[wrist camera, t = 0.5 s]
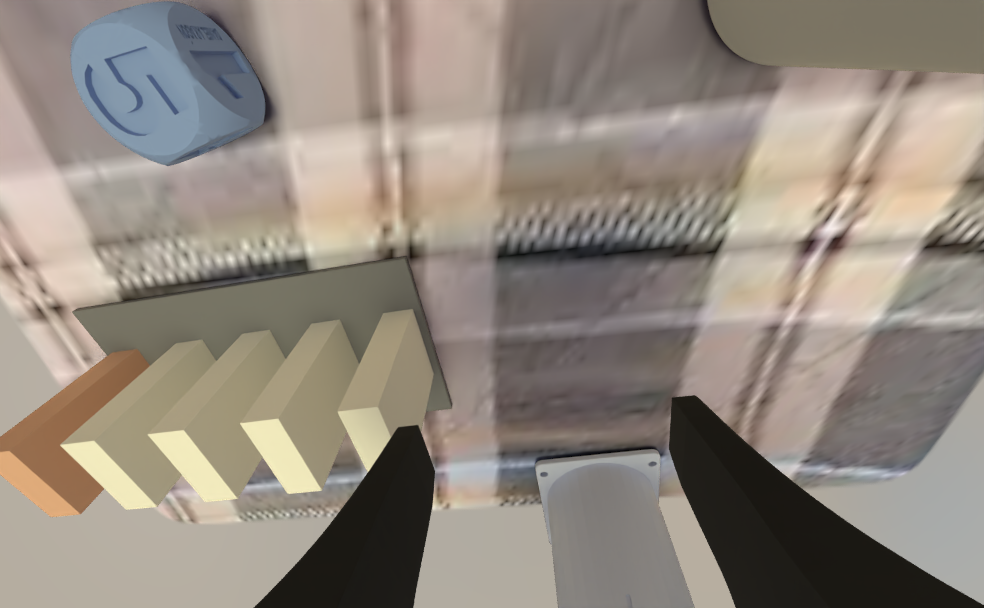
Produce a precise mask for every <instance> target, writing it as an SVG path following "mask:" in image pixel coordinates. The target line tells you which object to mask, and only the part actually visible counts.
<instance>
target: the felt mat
mask: <svg viewBox="0 0 984 608" xmlns="http://www.w3.org/2000/svg"><path fill="white" fill-rule="evenodd" d="M409 309H413V311H414V314H415V317H416V320H417V323H418V326H419V330H420V333H421V336H422V339H423V342H424V345H425V348H426V351H427V354H428V357H429V361H430V364H431V367H432V370H433V373H434V375H433V380H432V385H431V389H430V394H429V398H428V403H427V408H426V412H427V411H436V410H444V409H452V403H451V399H450V396H449V393H448V390H447V386H446V383H445V380H444V377H443V373H442V370H441V367H440V364H439V361H438V357H437V354H436V351H435V348H434V344H433V341H432V338H431V335H430V331H429V328H428V325H427V322H426V319H425V315H424V312H423V309H422V306H421V302H420V299H419V296H418V293H417V289H416V286H415V283H414V280H413V277H412V273H411V270H410V267H409V264H408V260H407V257H406V256H405V257H399V258H392V259H386V260H380V261H374V262H367V263H361V264H355V265H349V266H342V267H336V268H330V269H324V270H317V271H311V272H305V273H299V274H292V275H286V276H280V277H274V278H267V279H261V280H255V281H249V282H242V283H236V284H230V285H224V286H217V287H211V288H205V289H199V290H192V291H186V292H180V293H174V294H167V295H161V296H155V297H149V298H142V299H136V300H130V301H124V302H117V303H111V304H105V305H99V306H92V307H86V308H80V309H76V310H74V311H73V312H72V313H73V314H74V315H75V316H76V318H77V319H78V320H79V321H80V323H81V324H82V325H83V326H84V328H85V329H86V330H87V331H88V332H89V334H90V335H91V336H92V337H93V339H94V340H95V341H96V342H97V343H98V345H99V346H100V347H101V348H102V350H103V351H104V352H105V353H106V355H107V356H108V355H109V354H111V353H113V352H120V351H127V350H134V349H138V351H139V352H140V353H141V355H142V356H143V357H144V359H145V360H146V361H147V362H148V364H149V365H150V366H151V365H152V364H153V363H154V362H155V361H156V360H157V359H159V358H160V357H161V356H162V355H163V354H164V353H165V352H167V351H168V350H169V349H170V348H171V347H172V346H173V345H175V344H176V343H182V342H189V341H195V340H203V342H204V343H205V345H206V346H207V348H208V349H209V351H210V352H211V354H212V355H213V357H214V358H215V360H216V361H217V360H218V359H219V358H220V357H221V356H222V355H223V354H224V353H225V352H226V350H227V349H228V348H229V347H230V346H231V345H232V344H233V343H234V342H235V341H236V340H237V339H238V338H239V337H240V336H241V335H242V334H244V333H250V332H257V331H264V330H270V331H271V333H272V335H273V337H274V339H275V340H276V342H277V344H278V346H279V348H280V350H281V352H282V353H283V355H284V357H285V359H286V358H287V357H288V355H289V354H290V353H291V351H292V350H293V349H294V347H295V346H296V344H297V343H298V342H299V340H300V339H301V337H302V336H303V335H304V333H305V332H306V330H307V329H308V328H309V326H310V325H311V324H312V323H319V322H326V321H333V320H340V321H341V323H342V326H343V328H344V330H345V333H346V335H347V337H348V340H349V342H350V344H351V346H352V349H353V351H354V353H355V356H356V358H357V360H358V363H359V364H360V362H361V360H362V358H363V355H364V353H365V351H366V349H367V347H368V345H369V343H370V340H371V338H372V336H373V334H374V332H375V330H376V328H377V326H378V323H379V321H380V319H381V317H382V315H383V313H388V312H395V311H402V310H409Z"/></svg>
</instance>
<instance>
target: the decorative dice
mask: <svg viewBox="0 0 984 608" xmlns="http://www.w3.org/2000/svg"><path fill="white" fill-rule="evenodd" d="M70 56H71V70H72V75H73V79H74V82H75V85H76V87H77V90H78V92H79V94H80V97H81V99H82V101H83V103H84V104H85V106H86V108H87V109H88V111H89V112H90V113H91V115H92V116H93V117H94V119H95V120H96V121H97V122H98V123H99V124H100V126H101V127H102V128H103V129H104V130H105V131H106V132H107V133H109V134H110V135H111V136H112V137H113V138H114V139H115V140H117V141H118V142H119V143H121V144H122V145H124V146H125V147H126V148H128V149H130V150H131V151H133V152H135V153H137V154H138V155H140V156H142V157H144V158H147V159H149V160H151V161H154V162H157V163H160V164H163V165H166V166H170V165H174V164H178V163H181V162H183V161H186V160H189V159H192V158H194V157H197V156H199V155H202V154H204V153H206V152H209V151H211V150H213V149H216V148H218V147H220V146H222V145H225V144H227V143H229V142H231V141H233V140H235V139H237V138H239V137H241V136H243V135H245V134H247V133H249V132H251V131H253V130H255V129H256V128H258V127H259V126H261V125H262V124H263V122H264V116H265V99H264V94H263V91H262V88H261V85H260V83H259V80H258V78H257V76H256V74H255V72H254V70H253V69H252V67H251V65H250V64H249V62H248V60H247V59H246V58H245V56H244V55H243V53H242V52H241V50H240V49H239V48H238V47H237V45H236V44H235V43H234V42H233V41H232V39H231V38H230V37H229V36H228V35H227V34H226V33H225V32H224V31H223V30H222V29H221V28H220V27H219V26H218V25H217V24H216V23H215V22H213V21H212V20H211V19H210V18H208V17H207V16H206V15H204V14H203V13H201V12H200V11H198V10H196V9H194V8H192V7H190V6H188V5H185V4H183V3H179V2H153V3H147V4H141V5H137V6H133V7H129V8H126V9H122V10H119V11H116V12H114V13H111V14H109V15H106V16H104V17H102V18H100V19H98V20H96V21H94V22H92V23H90V24H89V25H87V26H86V27H84V28H83V29H82V30H80V31H79V32H78V33H77V34H76V36H75V37H74V39H73V41H72V47H71V55H70Z"/></svg>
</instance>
